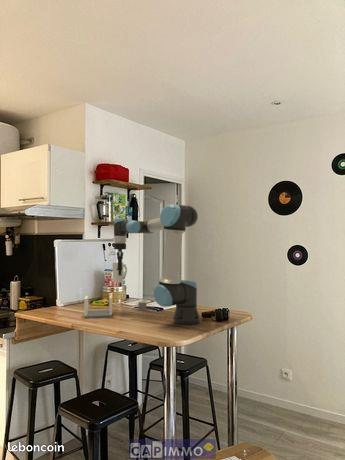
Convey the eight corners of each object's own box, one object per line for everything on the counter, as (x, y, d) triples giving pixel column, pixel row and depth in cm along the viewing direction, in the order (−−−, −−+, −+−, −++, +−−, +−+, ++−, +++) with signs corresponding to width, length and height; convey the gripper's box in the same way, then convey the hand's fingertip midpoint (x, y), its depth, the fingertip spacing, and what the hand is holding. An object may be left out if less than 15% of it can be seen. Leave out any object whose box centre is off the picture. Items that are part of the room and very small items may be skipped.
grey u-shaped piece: (111, 317, 212) (111, 298, 212) (84, 318, 210) (84, 299, 210) (112, 313, 226) (112, 294, 226) (86, 314, 224) (86, 295, 224)
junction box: (146, 310, 234) (146, 302, 234) (138, 310, 233) (138, 303, 234) (145, 308, 240) (145, 301, 240) (138, 309, 239) (138, 301, 240)
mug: (116, 283, 217) (116, 263, 218) (110, 282, 222) (110, 262, 223) (130, 281, 224) (129, 262, 224) (123, 281, 229) (123, 262, 229)
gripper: (114, 242, 232) (114, 278, 232) (113, 243, 213) (113, 281, 212) (126, 242, 233) (125, 278, 233) (126, 243, 214) (126, 281, 213)
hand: (120, 279), depth 222 cm, fingers closed on mug, 7 cm apart
